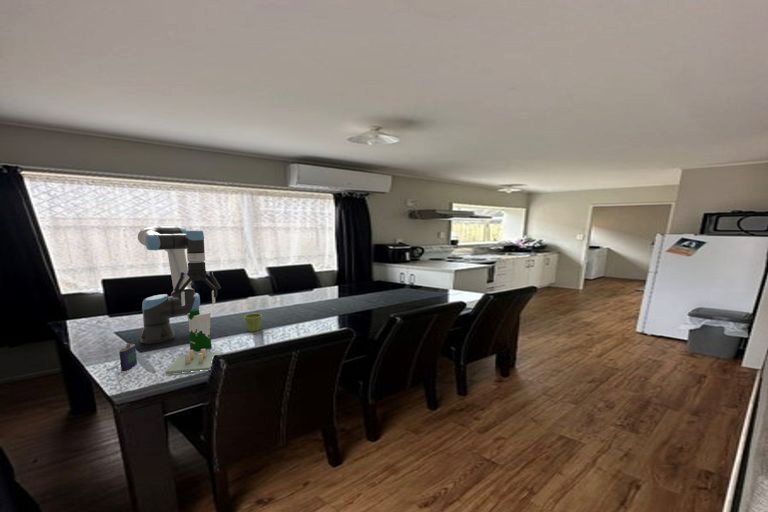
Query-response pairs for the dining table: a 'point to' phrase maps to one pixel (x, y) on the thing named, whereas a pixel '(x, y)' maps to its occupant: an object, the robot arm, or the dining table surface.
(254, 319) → the plant pot
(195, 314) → the soya milk
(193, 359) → the peg stand
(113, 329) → the dining table surface
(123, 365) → the flask
